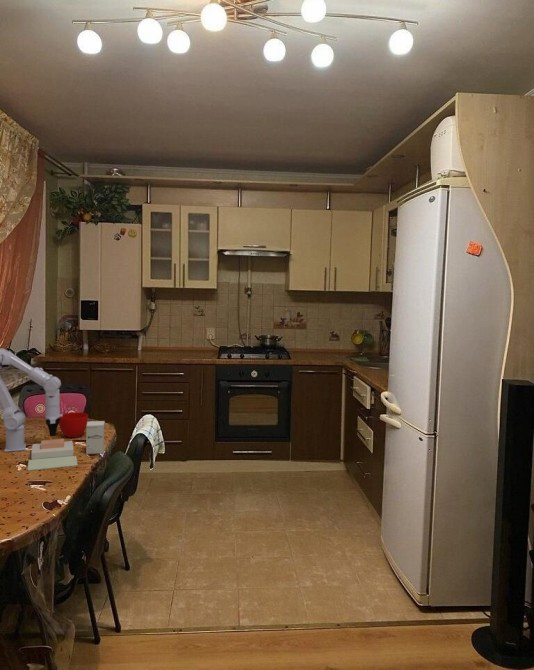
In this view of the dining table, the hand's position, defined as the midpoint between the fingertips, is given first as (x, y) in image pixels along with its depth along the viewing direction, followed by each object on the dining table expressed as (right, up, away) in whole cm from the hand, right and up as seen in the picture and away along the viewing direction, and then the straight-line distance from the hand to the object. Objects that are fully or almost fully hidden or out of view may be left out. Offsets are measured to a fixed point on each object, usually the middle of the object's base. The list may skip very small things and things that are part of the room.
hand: (52, 435), depth 222 cm
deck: (+3, -6, -7) cm, 10 cm away
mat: (+8, -7, -19) cm, 22 cm away
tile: (+3, -3, -6) cm, 7 cm away
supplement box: (+19, -7, -2) cm, 21 cm away
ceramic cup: (+2, -4, +22) cm, 22 cm away
